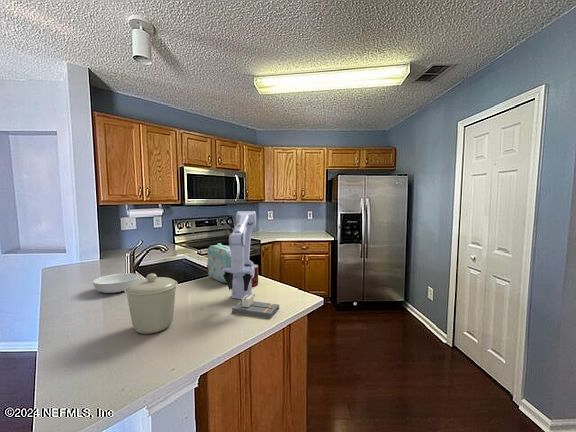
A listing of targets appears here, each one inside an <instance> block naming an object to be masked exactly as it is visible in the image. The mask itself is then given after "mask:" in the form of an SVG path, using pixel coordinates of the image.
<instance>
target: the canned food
mask: <svg viewBox="0 0 576 432" xmlns="http://www.w3.org/2000/svg"><path fill="white" fill-rule="evenodd" d="M251 285H252V288H253V287H257V286H258V285H259V265H258V264H254V277H253V279H251Z"/></svg>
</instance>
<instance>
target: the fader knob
mask: <svg viewBox="0 0 576 432" xmlns="http://www.w3.org/2000/svg"><path fill="white" fill-rule="evenodd" d="M241 301H242V306H243V307H249V306H250V305H251V304H253V301H254V296H253V295H251V294H249V295H246V296H245V297H243V298H242V299H241Z"/></svg>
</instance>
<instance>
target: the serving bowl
mask: <svg viewBox="0 0 576 432" xmlns="http://www.w3.org/2000/svg"><path fill="white" fill-rule="evenodd" d="M139 277H140V276H139V275H138V274H137V273H134V272H133V273H132V272H130V273H129V272H128V273H127V272H126V273H124V272H123V273H113V274H107V275H104V276H100V277H98V278H95V279H93V280H92V284H93V287H94V288H95V290H97V291H99V292H101V293H108V294H115V293H116V292H117V293H121V291H122V292H125V291H124V290H125V288H126V287H128V286H129V285H130V284H132V283H134V282H136V281H139Z"/></svg>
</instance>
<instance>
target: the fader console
mask: <svg viewBox="0 0 576 432" xmlns="http://www.w3.org/2000/svg"><path fill="white" fill-rule="evenodd" d="M279 310H280V304H277V303H269V302H262V301H254V300H253V304H251V305H250V306H249V307H243V306H242V300H241V301H240V302H238V303H237V304H236V305H234V306H233V307H232V308H231V313H232V314H240V315H244V316H250V317H251V316H253V317H260V318H264V319H271V318H273V316H274V315H276V313H277V312H278V311H279Z"/></svg>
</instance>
